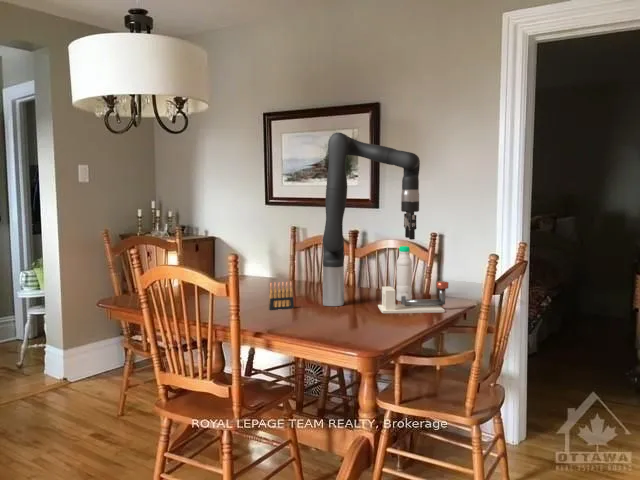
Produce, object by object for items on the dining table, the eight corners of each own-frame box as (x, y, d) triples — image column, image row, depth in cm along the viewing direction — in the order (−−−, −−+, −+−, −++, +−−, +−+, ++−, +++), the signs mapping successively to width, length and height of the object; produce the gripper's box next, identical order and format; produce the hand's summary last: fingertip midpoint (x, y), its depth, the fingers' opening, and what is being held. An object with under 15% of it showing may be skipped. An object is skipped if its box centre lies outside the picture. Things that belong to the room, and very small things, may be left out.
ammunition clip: (292, 307, 248) (292, 280, 247) (293, 308, 246) (293, 281, 245) (268, 309, 245) (268, 281, 244) (269, 310, 243) (269, 282, 242)
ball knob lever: (402, 307, 240) (402, 283, 239) (400, 305, 245) (400, 281, 244) (449, 306, 241) (449, 283, 240) (446, 304, 246) (446, 281, 245)
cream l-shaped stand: (382, 313, 236) (382, 291, 235) (378, 306, 249) (378, 286, 248) (444, 312, 237) (445, 290, 236) (437, 306, 250) (437, 285, 249)
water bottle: (411, 302, 259) (411, 247, 257) (395, 301, 260) (396, 247, 258) (412, 299, 266) (412, 245, 263) (396, 298, 267) (397, 245, 265)
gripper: (398, 200, 249) (398, 237, 250) (404, 200, 235) (404, 240, 236) (415, 200, 249) (415, 237, 251) (422, 200, 235) (422, 240, 236)
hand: (409, 238), depth 243 cm, fingers open, 8 cm apart
